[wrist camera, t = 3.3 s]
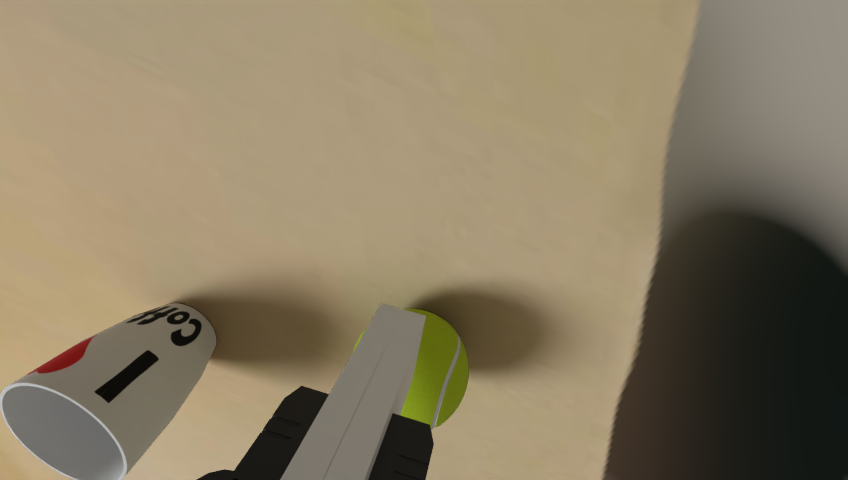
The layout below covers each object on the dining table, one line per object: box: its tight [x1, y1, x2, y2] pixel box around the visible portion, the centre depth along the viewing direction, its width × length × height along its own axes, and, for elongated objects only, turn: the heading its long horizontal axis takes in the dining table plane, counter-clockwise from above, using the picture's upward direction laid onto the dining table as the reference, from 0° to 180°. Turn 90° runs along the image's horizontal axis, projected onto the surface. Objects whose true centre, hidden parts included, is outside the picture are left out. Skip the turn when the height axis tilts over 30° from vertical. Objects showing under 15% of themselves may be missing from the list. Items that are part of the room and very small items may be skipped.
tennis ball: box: [352, 309, 469, 429], centre depth 25 cm, size 7×7×7 cm
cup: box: [0, 303, 216, 480], centre depth 28 cm, size 8×8×10 cm
